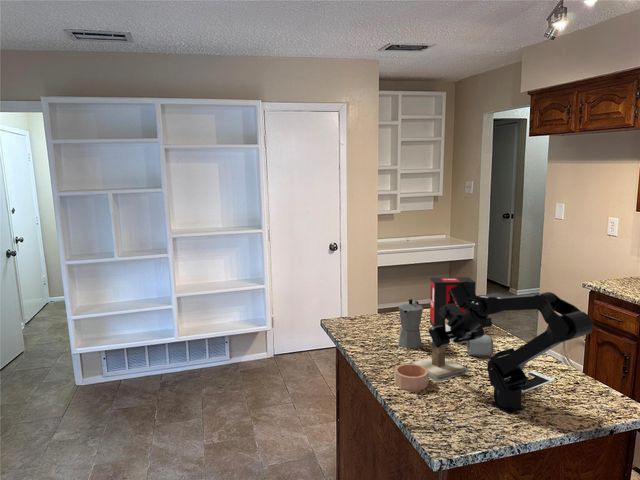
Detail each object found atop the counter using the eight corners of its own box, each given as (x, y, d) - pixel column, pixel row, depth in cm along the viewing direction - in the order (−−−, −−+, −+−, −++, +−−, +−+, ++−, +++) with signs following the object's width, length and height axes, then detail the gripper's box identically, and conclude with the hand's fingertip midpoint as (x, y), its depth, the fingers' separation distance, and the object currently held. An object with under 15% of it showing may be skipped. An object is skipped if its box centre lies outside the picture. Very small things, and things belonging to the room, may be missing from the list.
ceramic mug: (493, 359, 156) (494, 338, 155) (469, 358, 157) (469, 337, 156) (487, 348, 166) (487, 328, 165) (464, 347, 167) (464, 327, 166)
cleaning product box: (467, 322, 196) (469, 277, 193) (473, 328, 187) (475, 282, 185) (429, 322, 197) (430, 277, 194) (434, 329, 188) (435, 282, 185)
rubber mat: (471, 372, 146) (471, 370, 146) (437, 383, 139) (437, 381, 139) (439, 356, 159) (439, 355, 159) (406, 365, 152) (406, 364, 152)
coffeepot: (416, 353, 162) (417, 305, 160) (392, 348, 167) (392, 302, 165) (428, 339, 176) (429, 295, 173) (405, 336, 180) (406, 292, 178)
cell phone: (555, 381, 139) (555, 379, 139) (521, 394, 132) (521, 392, 131) (532, 372, 146) (532, 370, 146) (499, 384, 138) (499, 382, 138)
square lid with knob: (465, 370, 146) (465, 339, 145) (437, 378, 141) (438, 346, 139) (438, 357, 157) (439, 328, 155) (412, 365, 151) (412, 335, 150)
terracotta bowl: (434, 386, 136) (435, 372, 136) (409, 395, 132) (409, 380, 131) (413, 374, 145) (413, 361, 144) (388, 381, 140) (388, 368, 140)
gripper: (478, 294, 143) (453, 317, 154) (433, 302, 134) (409, 326, 146) (497, 324, 137) (469, 347, 148) (451, 335, 129) (425, 358, 140)
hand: (443, 344), depth 146 cm, fingers open, 9 cm apart
